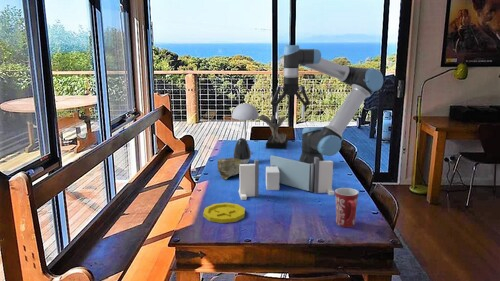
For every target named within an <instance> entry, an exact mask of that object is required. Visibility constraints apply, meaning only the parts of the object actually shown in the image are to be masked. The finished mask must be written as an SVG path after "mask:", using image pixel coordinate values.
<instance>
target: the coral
mask: <svg viewBox="0 0 500 281" xmlns="http://www.w3.org/2000/svg"><path fill="white" fill-rule="evenodd" d="M258 119H259V120H260V121H262V122H264V123H265V124H267V125H268V127H269V128H270V130H271V136H268V139H267V141H266V143H265V149H273V150H274V149H275V150H286V149H287V147H288V144H289V137H287V134H286V133H284V132H282V131H281V132H280V133H279V132H278V129H279V128H280V127H281V126H282V124H283V122H284V121H285V120H286V118H285V117H284V116H282V117H278V119H277V123H275V122H274V120H275V115H271V116H270V117H268V116H267V115H265V114H261V115H260V116H259V118H258Z"/></svg>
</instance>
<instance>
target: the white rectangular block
mask: <svg viewBox="0 0 500 281" xmlns="http://www.w3.org/2000/svg"><path fill="white" fill-rule="evenodd" d="M265 188H266V191H279V190H280V183H279V169H278V166H273V167H270V166H265Z"/></svg>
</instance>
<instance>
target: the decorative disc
mask: <svg viewBox="0 0 500 281" xmlns="http://www.w3.org/2000/svg"><path fill="white" fill-rule="evenodd" d="M245 215H246V208H245V207H244V206H242V205H240V204H237V203H230V202H222V203H213V204H211V205H209V206H207V207H205V208H204V211H203V217H204V218H205V219H206V220H207V221H209V222H213V223H220V224H226V223H227V224H229V223H235V222H238V221H240V220H242V219H244V218H245Z"/></svg>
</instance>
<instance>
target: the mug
mask: <svg viewBox="0 0 500 281" xmlns="http://www.w3.org/2000/svg"><path fill="white" fill-rule="evenodd" d="M334 192H335V223H336V225H337V226H338V225H339V227H340V228H341V227H342V228H353V227H355V225H356V217H357V208H358V207H357V206H358V197H359V194H360V192H359V190H357V189H355V188H351V187H339V188H336V189H335V190H334Z"/></svg>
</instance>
